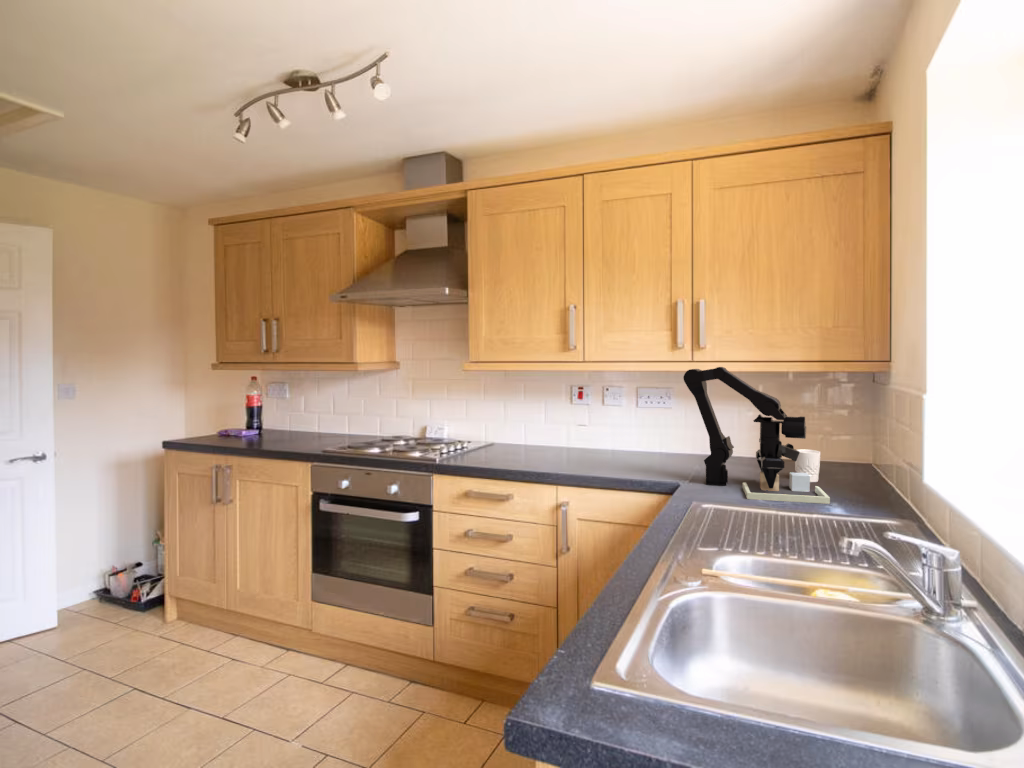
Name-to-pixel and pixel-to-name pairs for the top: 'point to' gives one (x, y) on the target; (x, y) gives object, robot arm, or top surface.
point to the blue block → (799, 482)
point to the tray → (789, 496)
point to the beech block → (765, 486)
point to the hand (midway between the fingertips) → (769, 485)
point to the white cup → (808, 463)
